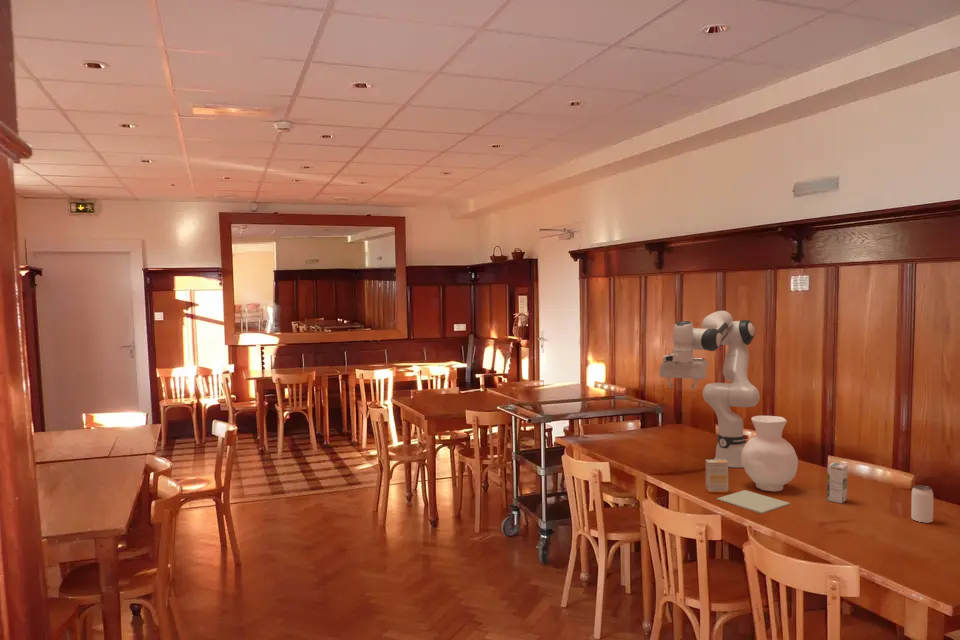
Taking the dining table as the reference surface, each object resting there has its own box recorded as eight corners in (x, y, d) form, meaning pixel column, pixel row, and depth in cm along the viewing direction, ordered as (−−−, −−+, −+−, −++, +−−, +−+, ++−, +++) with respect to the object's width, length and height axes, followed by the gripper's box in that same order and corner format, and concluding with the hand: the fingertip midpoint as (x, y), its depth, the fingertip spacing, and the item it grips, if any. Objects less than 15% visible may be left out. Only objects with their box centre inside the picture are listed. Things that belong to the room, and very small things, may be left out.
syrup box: (831, 497, 261) (831, 461, 260) (847, 500, 256) (847, 464, 256) (826, 500, 257) (826, 464, 256) (843, 504, 252) (843, 467, 252)
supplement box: (725, 489, 273) (725, 458, 273) (728, 493, 268) (728, 462, 268) (705, 489, 274) (705, 458, 273) (708, 493, 269) (708, 461, 269)
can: (933, 524, 229) (933, 491, 228) (911, 521, 232) (911, 488, 232) (932, 519, 235) (932, 486, 234) (910, 516, 238) (911, 483, 237)
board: (745, 491, 270) (745, 490, 270) (789, 504, 253) (789, 502, 253) (716, 499, 261) (716, 498, 261) (761, 513, 244) (761, 512, 244)
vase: (738, 480, 285) (738, 413, 284) (790, 482, 281) (790, 414, 279) (746, 493, 267) (746, 421, 266) (802, 496, 263) (802, 423, 261)
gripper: (706, 357, 291) (706, 388, 291) (659, 355, 296) (659, 385, 297) (707, 358, 285) (707, 390, 285) (659, 357, 290) (658, 387, 291)
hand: (682, 388), depth 291 cm, fingers open, 8 cm apart
